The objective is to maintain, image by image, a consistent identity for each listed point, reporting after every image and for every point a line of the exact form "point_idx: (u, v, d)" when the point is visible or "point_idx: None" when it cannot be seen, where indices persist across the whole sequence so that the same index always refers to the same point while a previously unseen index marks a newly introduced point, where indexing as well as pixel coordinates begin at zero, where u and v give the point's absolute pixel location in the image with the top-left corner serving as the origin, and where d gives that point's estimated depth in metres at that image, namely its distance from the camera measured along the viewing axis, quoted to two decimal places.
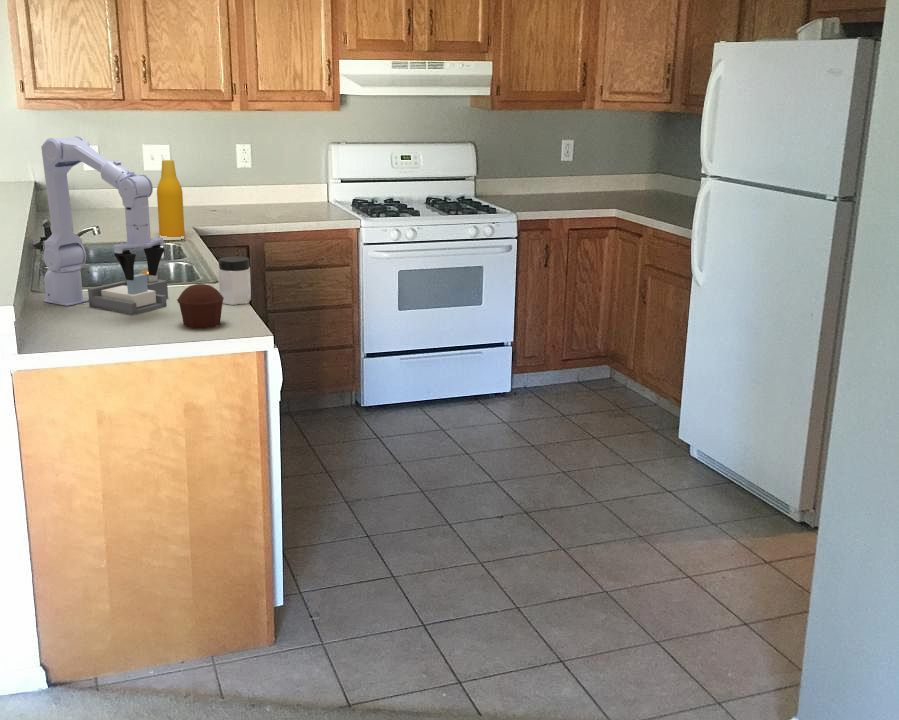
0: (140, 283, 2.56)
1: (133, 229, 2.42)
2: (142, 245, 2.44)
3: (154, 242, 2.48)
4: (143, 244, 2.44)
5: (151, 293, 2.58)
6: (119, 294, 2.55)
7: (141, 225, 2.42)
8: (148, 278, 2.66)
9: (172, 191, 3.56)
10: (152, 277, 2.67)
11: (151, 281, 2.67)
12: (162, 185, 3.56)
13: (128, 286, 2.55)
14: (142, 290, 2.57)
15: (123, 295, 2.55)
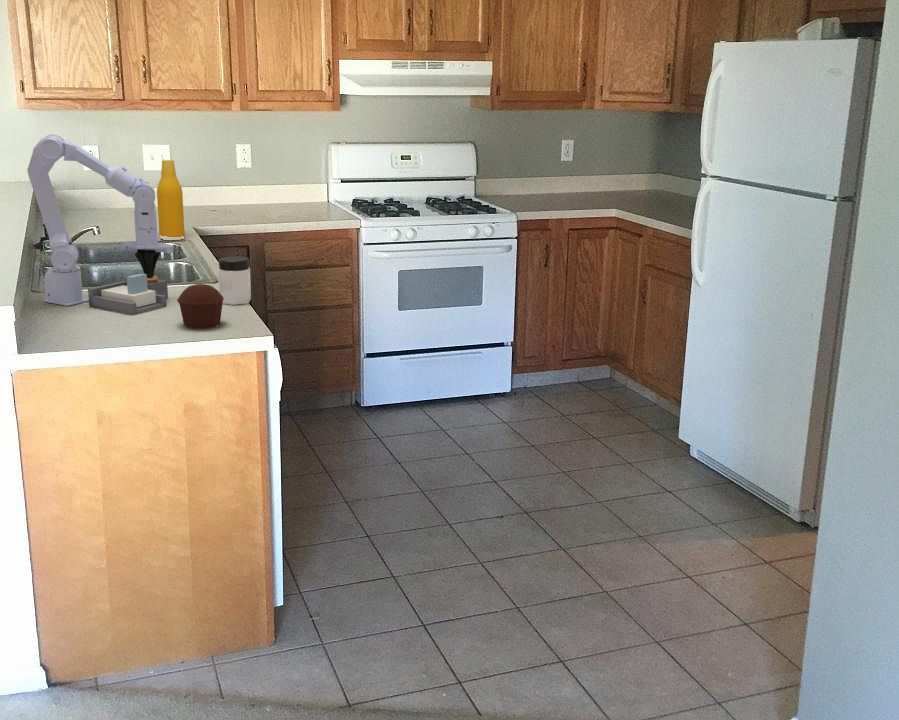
0: (140, 283, 2.56)
1: None
2: (137, 247, 2.63)
3: (153, 247, 2.63)
4: None
5: (151, 293, 2.58)
6: (119, 294, 2.55)
7: (136, 228, 2.62)
8: None
9: (172, 191, 3.56)
10: None
11: None
12: (162, 185, 3.56)
13: (128, 286, 2.55)
14: (142, 290, 2.57)
15: (123, 295, 2.55)
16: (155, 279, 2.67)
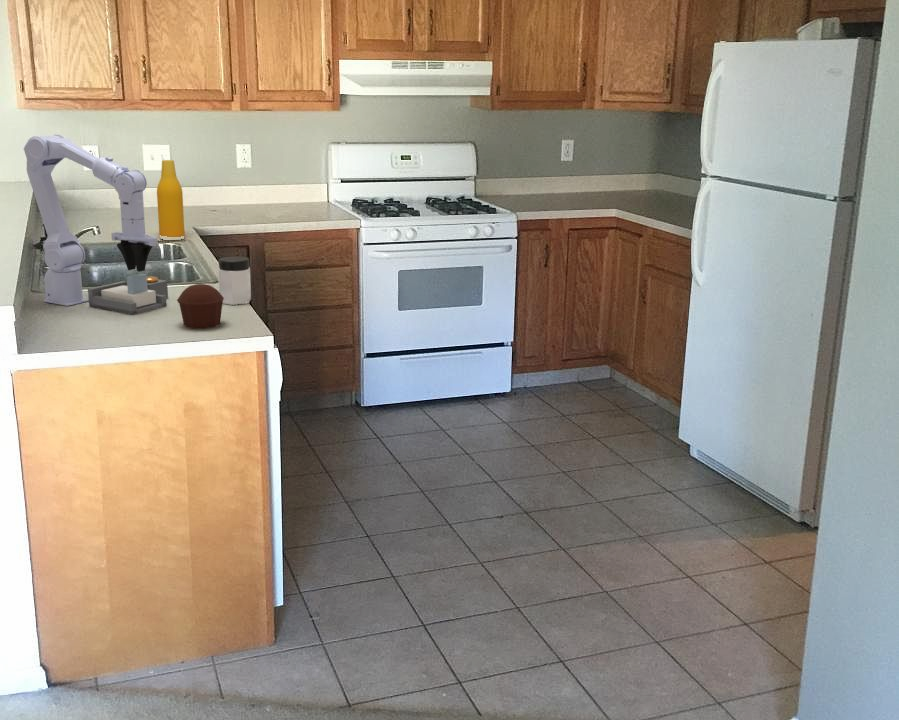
0: (140, 283, 2.56)
1: None
2: None
3: (136, 239, 2.50)
4: (122, 237, 2.51)
5: (151, 293, 2.58)
6: (119, 294, 2.55)
7: (121, 218, 2.50)
8: None
9: (172, 191, 3.56)
10: None
11: None
12: (162, 185, 3.56)
13: (128, 286, 2.55)
14: (142, 290, 2.57)
15: (123, 295, 2.55)
16: (155, 280, 2.67)
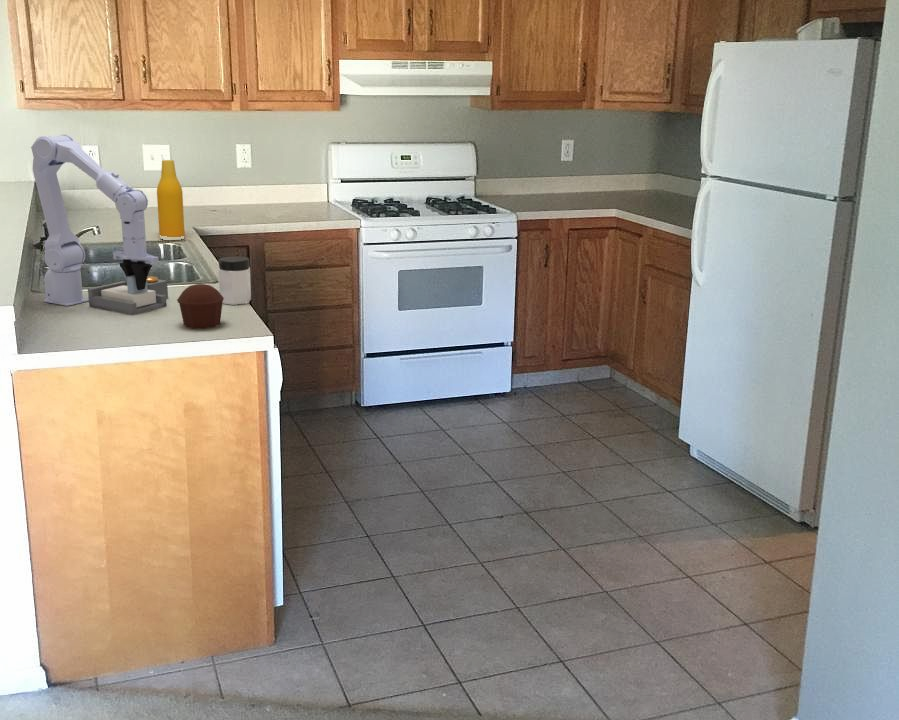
0: None
1: None
2: None
3: (138, 258, 2.51)
4: (123, 256, 2.53)
5: (151, 293, 2.58)
6: (119, 294, 2.55)
7: (123, 238, 2.51)
8: None
9: (172, 191, 3.56)
10: None
11: None
12: (162, 185, 3.56)
13: (128, 286, 2.55)
14: (142, 290, 2.57)
15: (123, 295, 2.55)
16: (155, 280, 2.67)
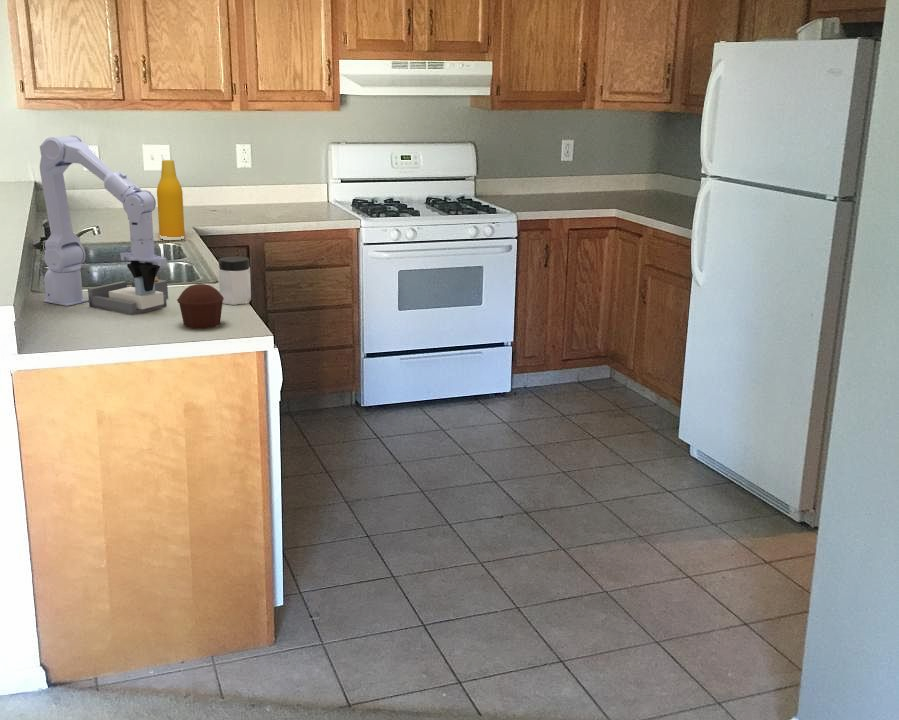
0: None
1: None
2: None
3: (145, 259, 2.50)
4: None
5: (159, 294, 2.57)
6: (127, 295, 2.54)
7: (131, 239, 2.50)
8: None
9: (172, 191, 3.56)
10: None
11: None
12: (162, 185, 3.56)
13: (136, 287, 2.54)
14: (150, 291, 2.56)
15: (131, 296, 2.53)
16: (155, 280, 2.67)
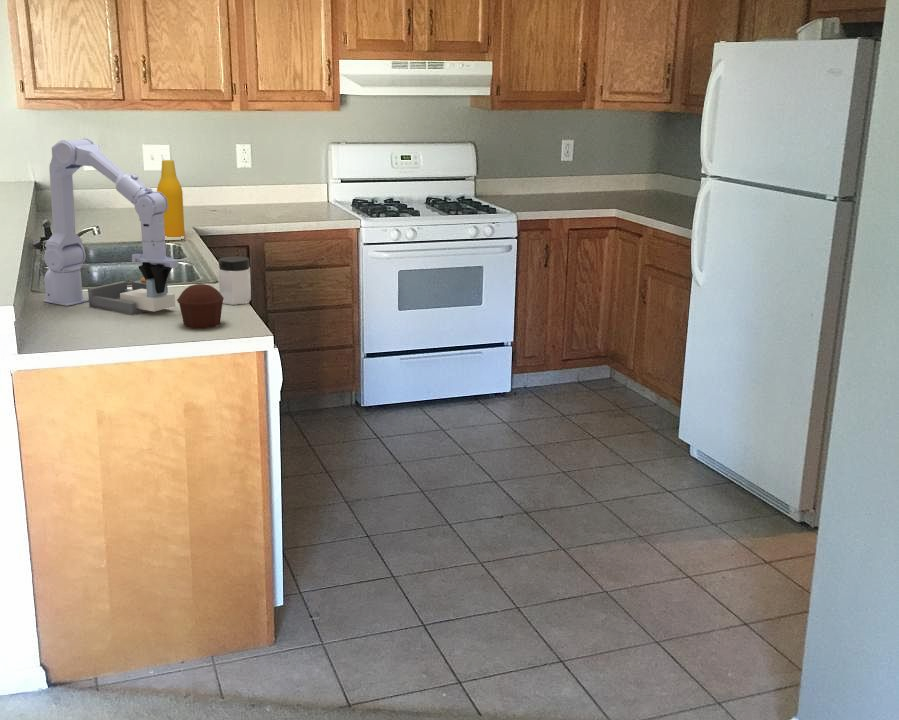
0: None
1: None
2: None
3: (157, 261, 2.48)
4: (143, 259, 2.49)
5: (170, 296, 2.55)
6: (138, 297, 2.52)
7: (142, 240, 2.48)
8: None
9: (172, 191, 3.56)
10: None
11: None
12: (162, 185, 3.56)
13: (147, 289, 2.52)
14: (161, 293, 2.54)
15: (142, 298, 2.51)
16: None
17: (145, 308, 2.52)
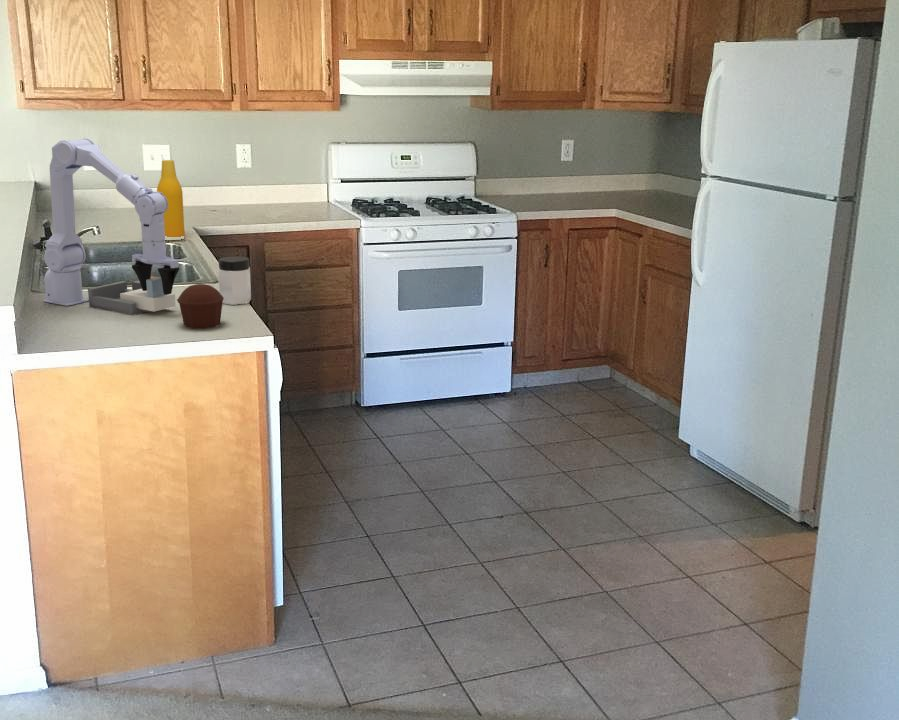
0: (159, 286, 2.53)
1: None
2: None
3: (157, 261, 2.48)
4: (143, 259, 2.49)
5: (171, 296, 2.55)
6: (138, 297, 2.52)
7: (142, 240, 2.48)
8: None
9: (172, 191, 3.56)
10: None
11: None
12: (162, 185, 3.56)
13: (147, 289, 2.52)
14: (161, 293, 2.54)
15: (142, 298, 2.51)
16: None
17: (145, 308, 2.52)
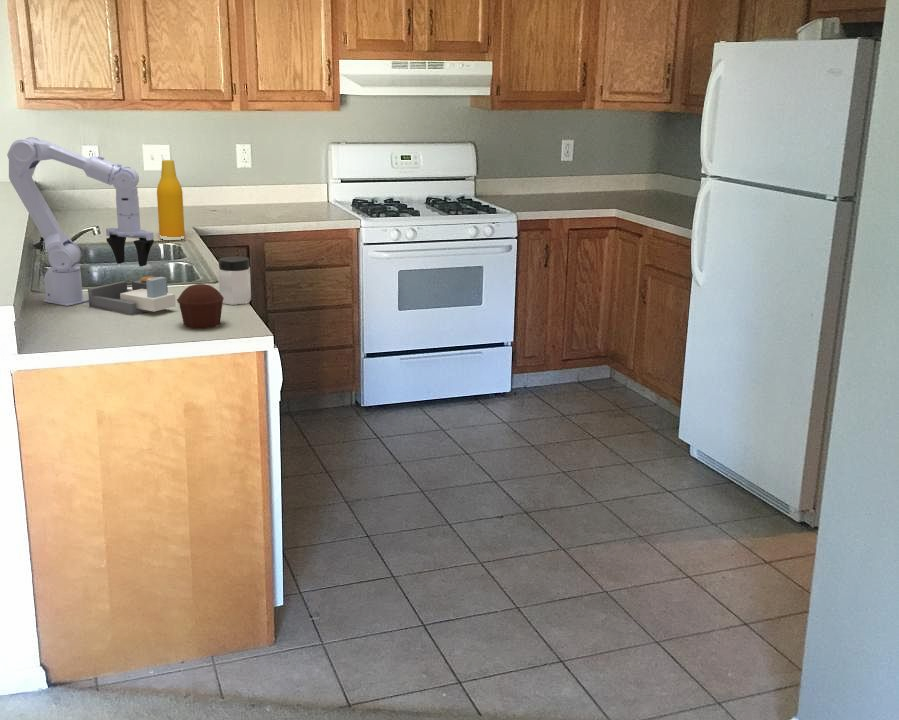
0: (159, 286, 2.53)
1: None
2: None
3: (133, 233, 2.57)
4: (118, 232, 2.58)
5: (171, 296, 2.55)
6: (138, 297, 2.52)
7: (117, 214, 2.57)
8: None
9: (172, 191, 3.56)
10: None
11: None
12: (162, 185, 3.56)
13: (147, 289, 2.52)
14: (161, 293, 2.54)
15: (142, 298, 2.51)
16: None
17: (145, 308, 2.52)
